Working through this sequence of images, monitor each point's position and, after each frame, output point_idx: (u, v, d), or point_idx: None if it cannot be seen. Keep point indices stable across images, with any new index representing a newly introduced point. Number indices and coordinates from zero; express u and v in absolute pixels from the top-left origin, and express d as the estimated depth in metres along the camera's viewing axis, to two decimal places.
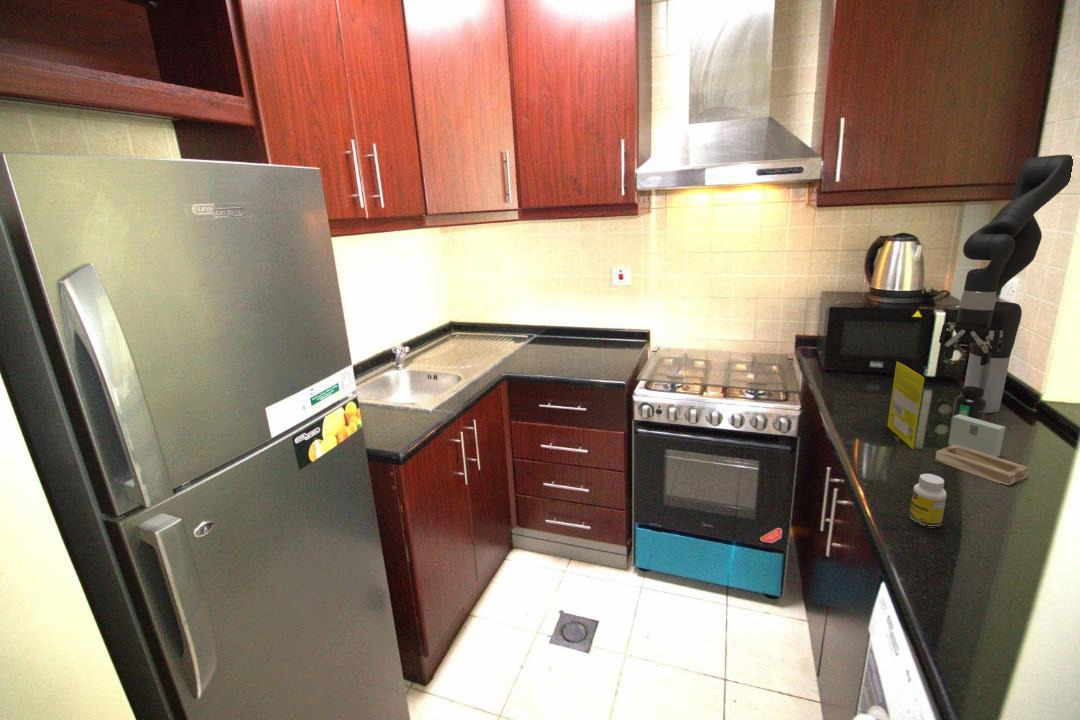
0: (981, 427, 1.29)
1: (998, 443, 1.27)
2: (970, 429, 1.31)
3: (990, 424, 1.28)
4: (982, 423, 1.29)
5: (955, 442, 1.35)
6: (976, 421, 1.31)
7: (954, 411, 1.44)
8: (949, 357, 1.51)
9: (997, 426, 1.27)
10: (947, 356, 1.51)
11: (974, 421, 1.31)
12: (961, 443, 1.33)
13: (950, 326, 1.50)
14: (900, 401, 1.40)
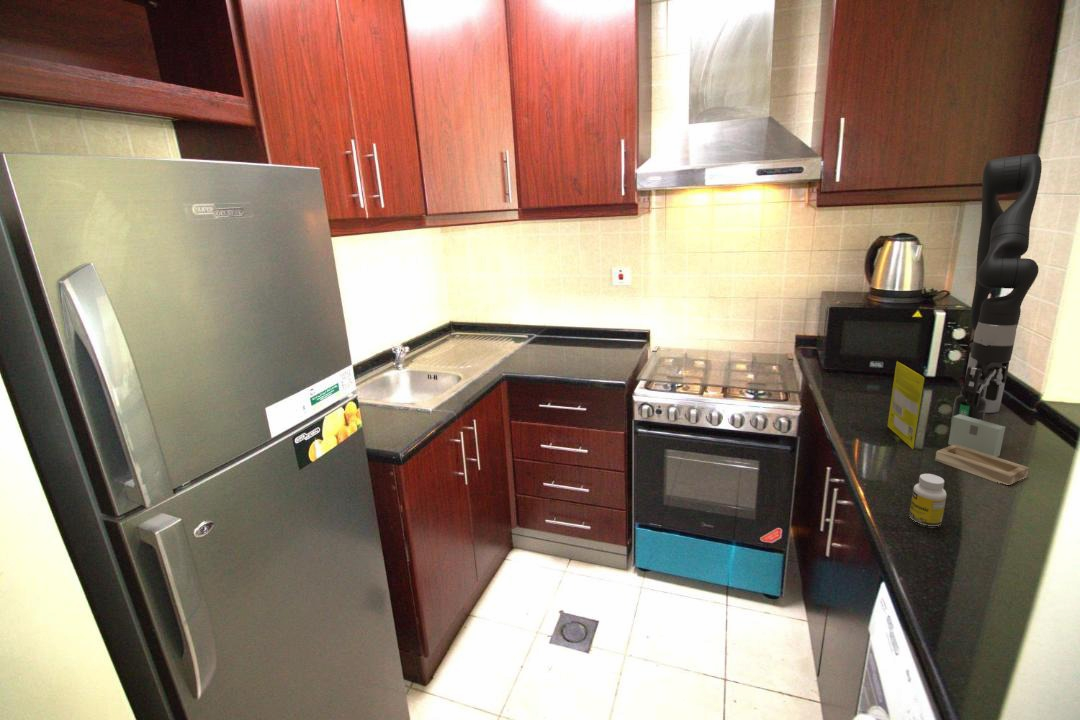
0: (981, 427, 1.29)
1: (998, 443, 1.27)
2: (970, 429, 1.31)
3: (990, 424, 1.28)
4: (982, 423, 1.29)
5: (955, 442, 1.35)
6: (976, 421, 1.31)
7: (954, 411, 1.44)
8: None
9: (997, 426, 1.27)
10: (977, 404, 1.26)
11: (974, 421, 1.31)
12: (961, 443, 1.33)
13: None
14: (900, 401, 1.40)
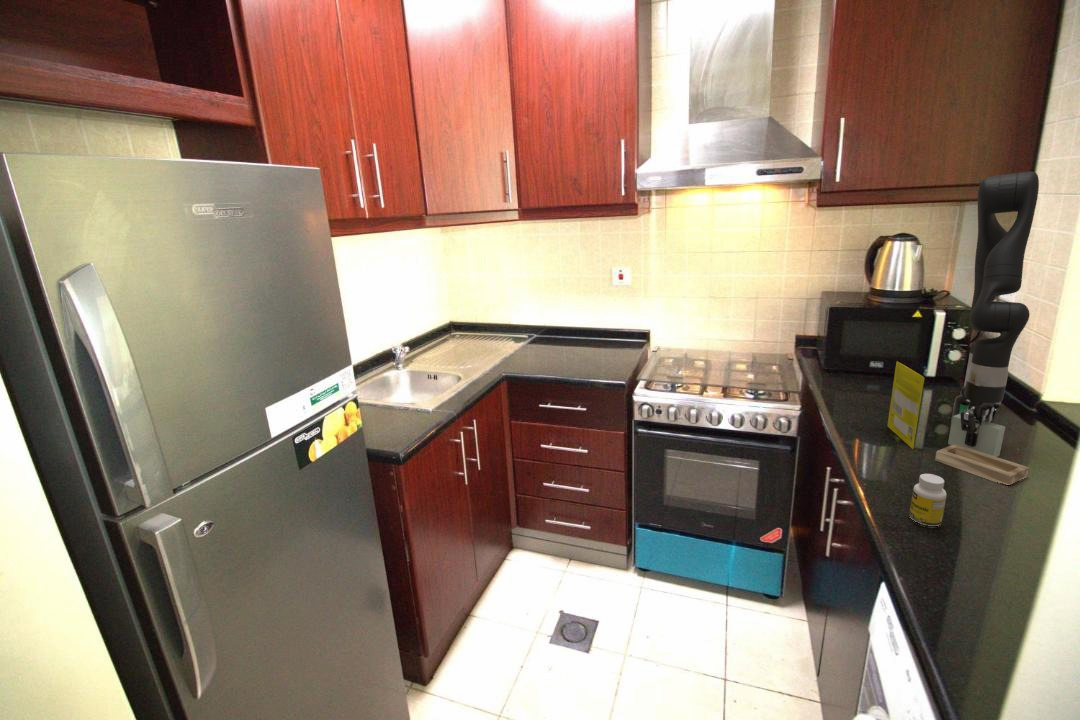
0: (981, 427, 1.29)
1: (998, 443, 1.27)
2: None
3: (990, 424, 1.28)
4: None
5: (955, 442, 1.35)
6: (976, 420, 1.31)
7: (954, 411, 1.44)
8: None
9: (997, 426, 1.27)
10: (975, 444, 1.30)
11: None
12: (961, 443, 1.33)
13: (971, 413, 1.27)
14: (900, 401, 1.40)
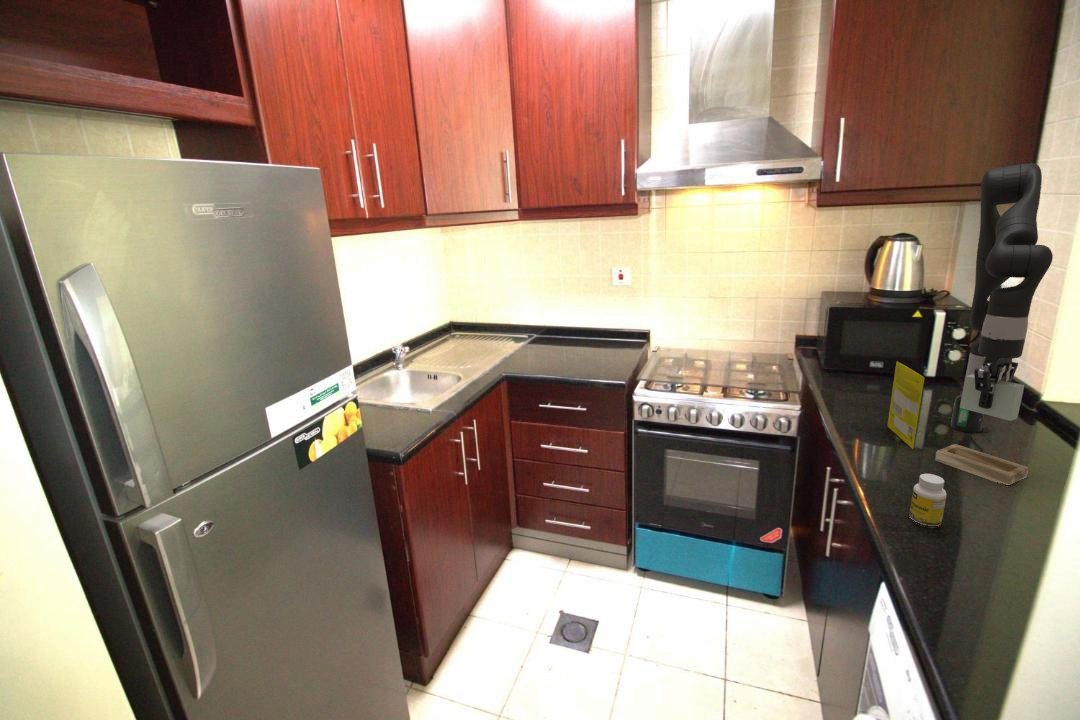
0: (997, 386, 1.17)
1: (1016, 403, 1.15)
2: None
3: (1007, 383, 1.16)
4: None
5: (968, 405, 1.22)
6: None
7: (954, 411, 1.44)
8: None
9: (1015, 384, 1.15)
10: (990, 405, 1.18)
11: None
12: (975, 406, 1.21)
13: None
14: (900, 401, 1.40)
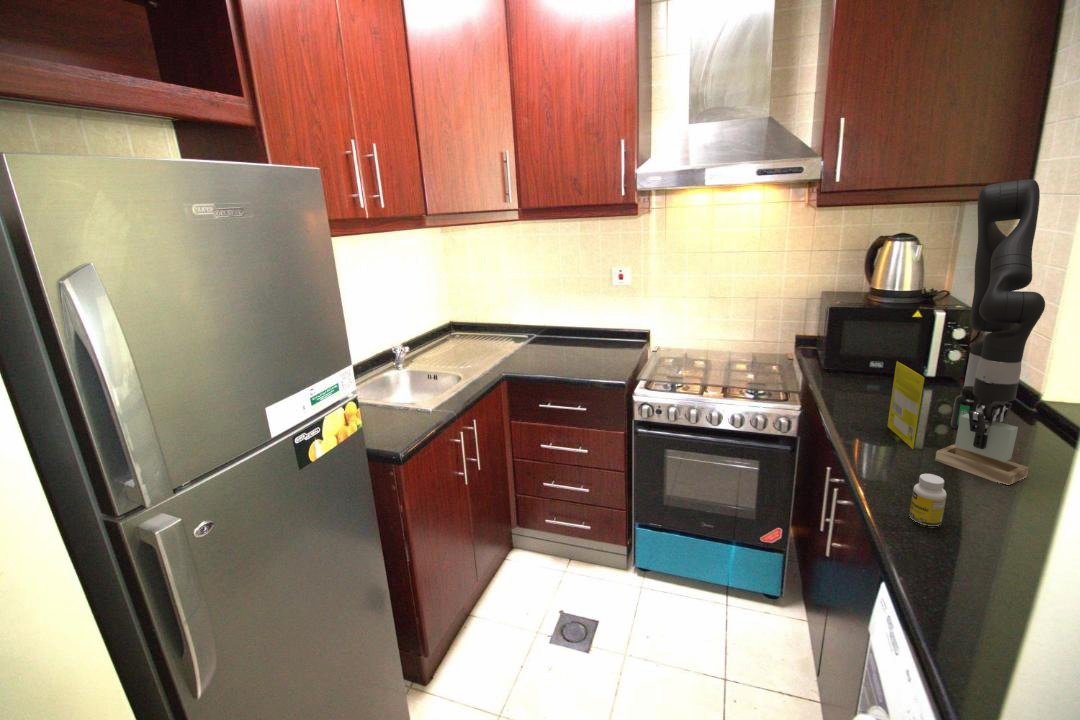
0: (991, 427, 1.19)
1: (1010, 445, 1.17)
2: None
3: (1001, 425, 1.18)
4: None
5: (963, 444, 1.24)
6: None
7: (954, 411, 1.44)
8: None
9: (1009, 426, 1.17)
10: (985, 446, 1.20)
11: None
12: (970, 445, 1.23)
13: (981, 412, 1.17)
14: (900, 401, 1.40)
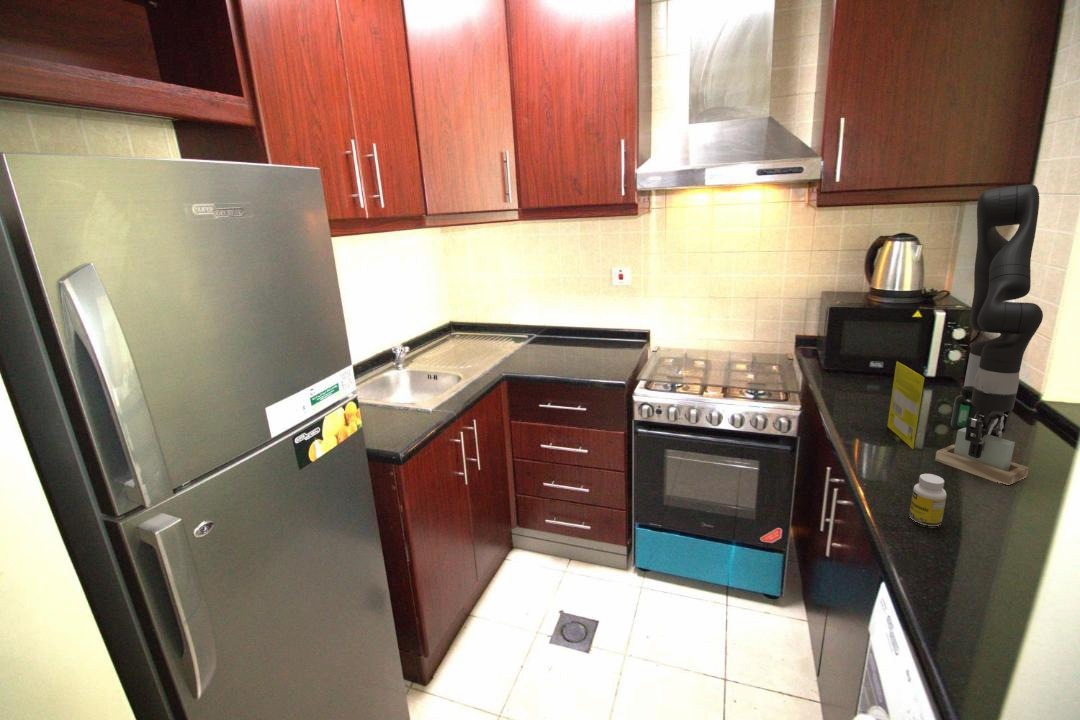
0: (988, 442, 1.20)
1: (1007, 460, 1.18)
2: None
3: (998, 439, 1.19)
4: (990, 438, 1.20)
5: None
6: None
7: (954, 411, 1.44)
8: None
9: (1006, 441, 1.18)
10: (980, 455, 1.20)
11: None
12: None
13: None
14: (900, 401, 1.40)
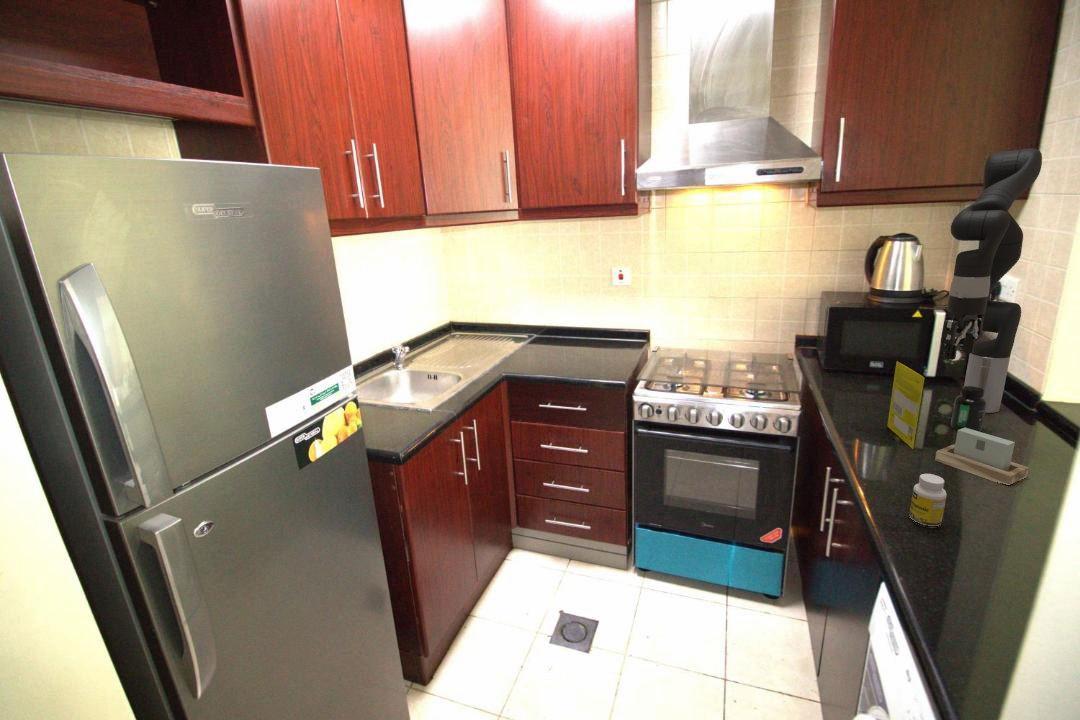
0: (988, 442, 1.20)
1: (1007, 460, 1.18)
2: (976, 444, 1.22)
3: (998, 439, 1.19)
4: (990, 438, 1.20)
5: None
6: (983, 435, 1.21)
7: (954, 411, 1.44)
8: None
9: (1006, 441, 1.18)
10: (955, 356, 1.29)
11: (981, 435, 1.22)
12: None
13: None
14: (900, 401, 1.40)
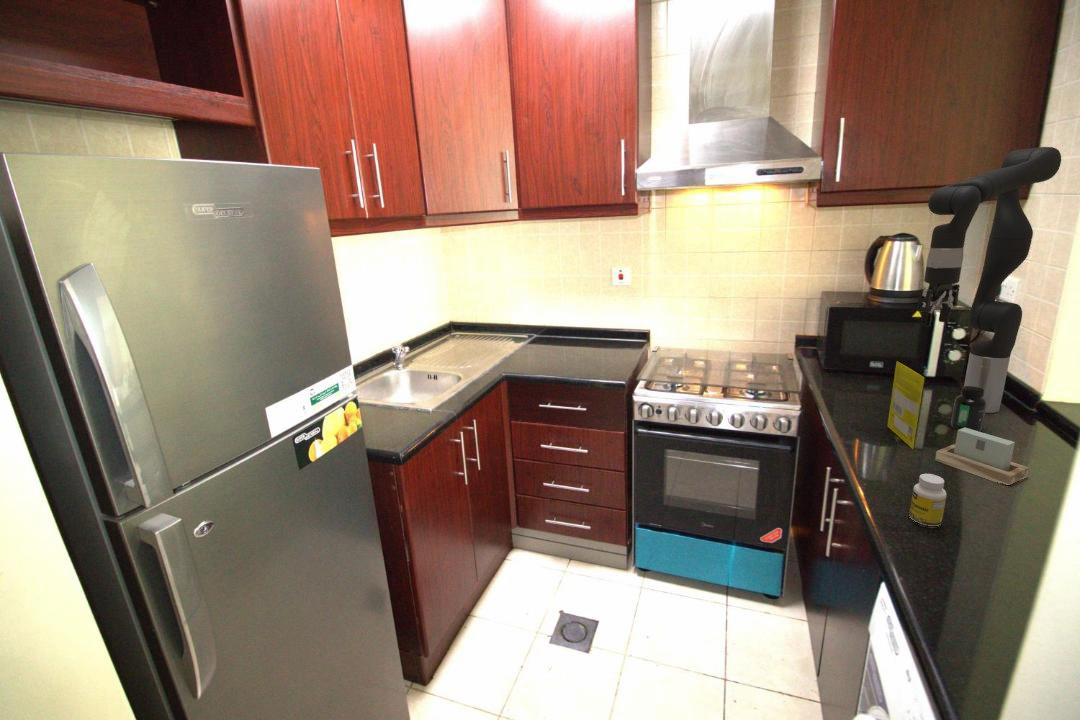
0: (988, 442, 1.20)
1: (1007, 460, 1.18)
2: (976, 444, 1.22)
3: (998, 439, 1.19)
4: (990, 438, 1.20)
5: None
6: (983, 435, 1.21)
7: (954, 411, 1.44)
8: None
9: (1006, 441, 1.18)
10: (930, 323, 1.38)
11: (981, 435, 1.22)
12: None
13: None
14: (900, 401, 1.40)
